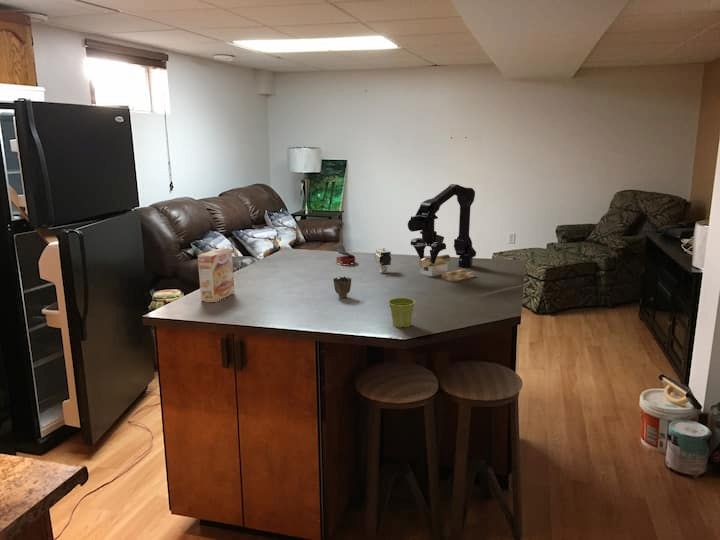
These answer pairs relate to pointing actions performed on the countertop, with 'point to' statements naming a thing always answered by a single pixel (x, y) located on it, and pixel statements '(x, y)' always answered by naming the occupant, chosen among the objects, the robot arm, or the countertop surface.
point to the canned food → (345, 257)
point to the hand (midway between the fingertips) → (427, 262)
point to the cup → (342, 286)
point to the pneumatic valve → (383, 259)
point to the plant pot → (401, 311)
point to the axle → (439, 260)
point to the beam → (457, 275)
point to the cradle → (434, 269)
